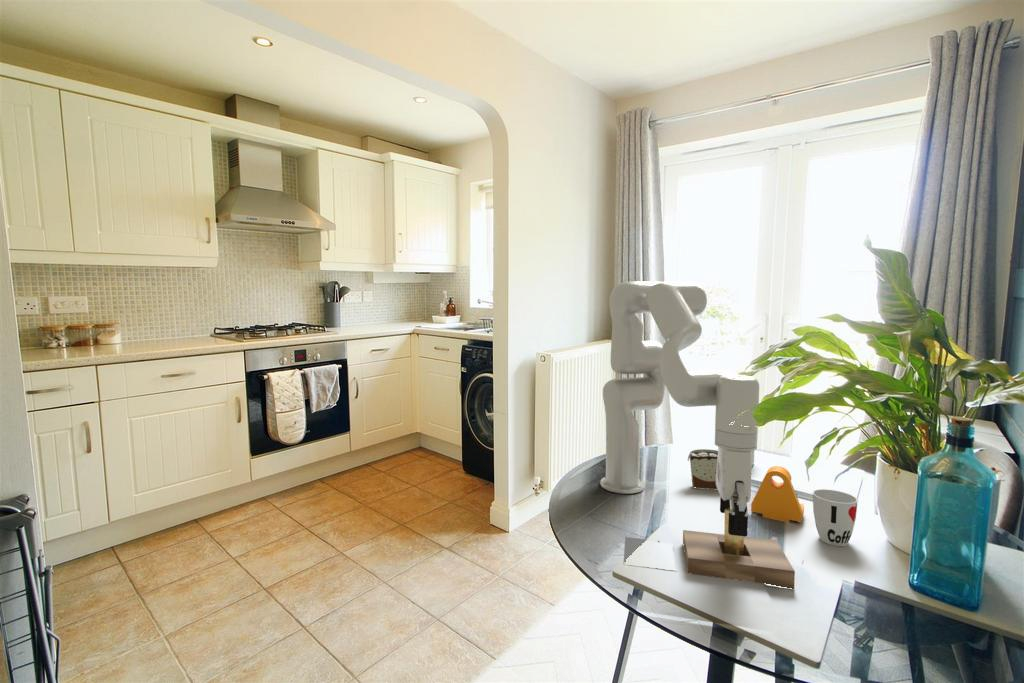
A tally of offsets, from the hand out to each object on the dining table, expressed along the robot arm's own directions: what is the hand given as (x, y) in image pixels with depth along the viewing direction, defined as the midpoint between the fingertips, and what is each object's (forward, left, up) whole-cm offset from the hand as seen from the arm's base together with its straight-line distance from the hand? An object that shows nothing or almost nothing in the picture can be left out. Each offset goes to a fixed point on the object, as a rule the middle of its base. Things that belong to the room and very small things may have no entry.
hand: (732, 523), depth 93 cm
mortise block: (0, 0, -8) cm, 8 cm away
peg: (0, 0, -8) cm, 8 cm away
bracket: (-29, +15, -9) cm, 34 cm away
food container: (-46, +1, -9) cm, 46 cm away
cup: (-17, +23, -9) cm, 30 cm away
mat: (0, -16, -8) cm, 18 cm away
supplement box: (-69, +14, -9) cm, 71 cm away
